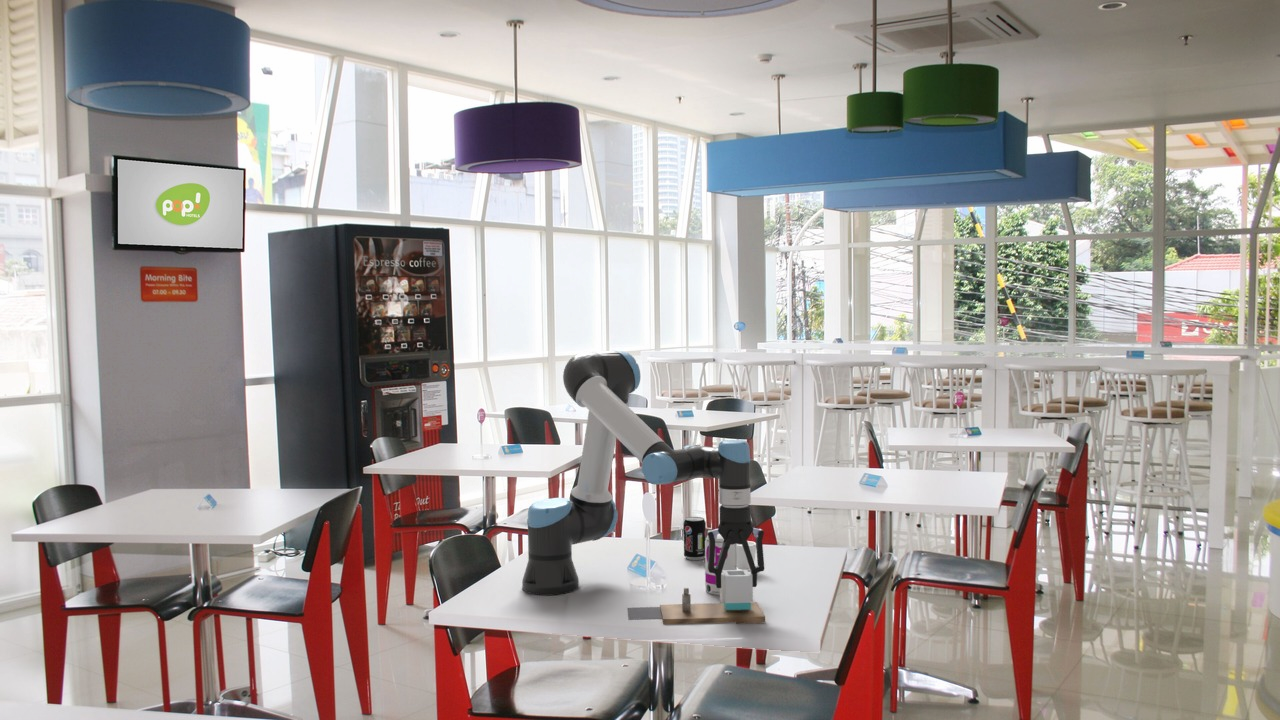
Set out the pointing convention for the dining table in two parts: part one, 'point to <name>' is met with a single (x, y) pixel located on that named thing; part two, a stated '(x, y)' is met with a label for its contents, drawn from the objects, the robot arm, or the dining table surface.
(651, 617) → the mat
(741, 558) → the cup
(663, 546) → the dining table surface
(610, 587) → the dining table surface
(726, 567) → the supplement can
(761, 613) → the pinboard
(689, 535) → the beverage can
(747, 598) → the sleeve
